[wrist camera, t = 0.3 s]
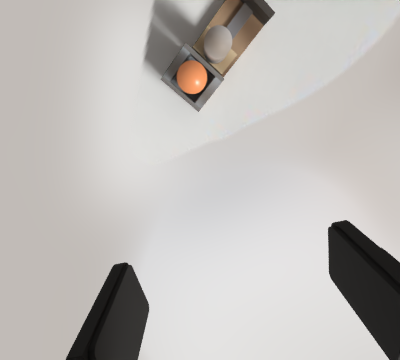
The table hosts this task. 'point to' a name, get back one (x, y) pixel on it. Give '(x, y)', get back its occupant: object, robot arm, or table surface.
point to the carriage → (216, 47)
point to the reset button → (191, 77)
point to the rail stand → (241, 37)
